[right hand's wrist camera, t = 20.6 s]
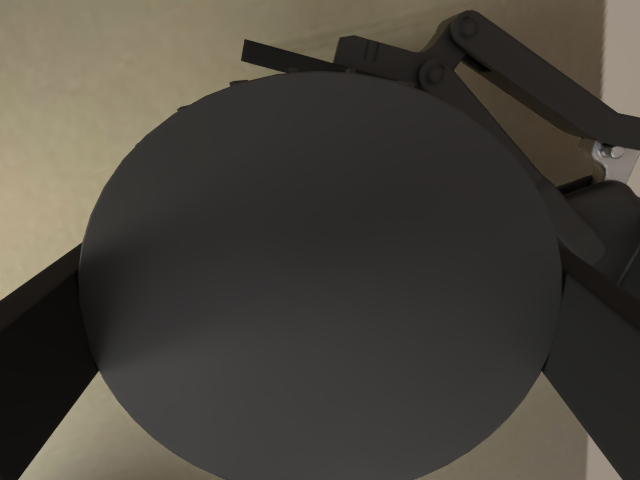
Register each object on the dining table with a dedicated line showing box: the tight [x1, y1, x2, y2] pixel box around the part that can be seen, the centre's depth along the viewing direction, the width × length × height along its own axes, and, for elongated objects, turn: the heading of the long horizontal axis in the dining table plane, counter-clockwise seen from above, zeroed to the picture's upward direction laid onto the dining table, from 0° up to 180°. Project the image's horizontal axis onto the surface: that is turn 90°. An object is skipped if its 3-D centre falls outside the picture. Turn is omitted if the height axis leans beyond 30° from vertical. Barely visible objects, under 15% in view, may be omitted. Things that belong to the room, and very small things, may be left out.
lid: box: [78, 68, 562, 480], centre depth 11 cm, size 11×11×2 cm
